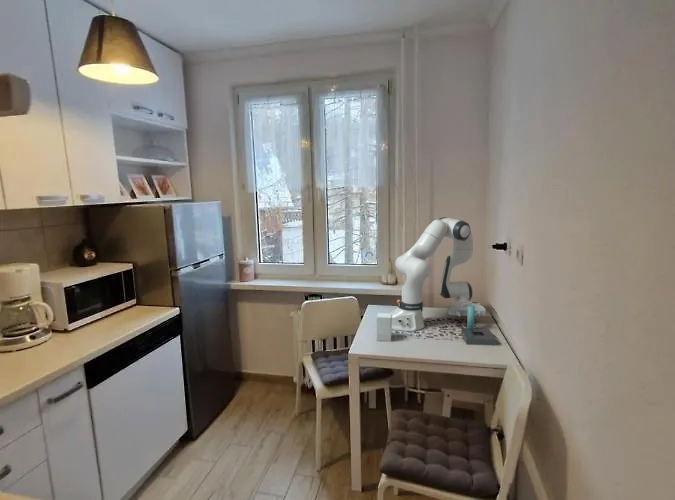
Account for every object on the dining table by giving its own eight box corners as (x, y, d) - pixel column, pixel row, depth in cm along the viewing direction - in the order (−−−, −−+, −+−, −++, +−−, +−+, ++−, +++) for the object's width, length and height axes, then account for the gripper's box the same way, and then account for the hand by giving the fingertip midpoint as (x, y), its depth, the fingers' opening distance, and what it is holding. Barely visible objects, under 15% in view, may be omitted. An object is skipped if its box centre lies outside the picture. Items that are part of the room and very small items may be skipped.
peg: (467, 331, 202) (468, 307, 200) (466, 328, 205) (467, 305, 203) (474, 331, 201) (475, 307, 199) (473, 328, 205) (474, 305, 203)
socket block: (466, 344, 184) (466, 338, 184) (461, 333, 198) (461, 328, 198) (496, 345, 183) (496, 339, 182) (488, 334, 196) (489, 329, 196)
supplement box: (391, 341, 189) (391, 317, 187) (376, 341, 191) (376, 317, 189) (391, 336, 196) (391, 313, 194) (377, 335, 198) (377, 312, 196)
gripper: (446, 302, 220) (449, 309, 206) (482, 302, 217) (488, 310, 204) (445, 312, 221) (449, 320, 207) (482, 313, 218) (488, 321, 205)
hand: (469, 315), depth 205 cm, fingers open, 8 cm apart
